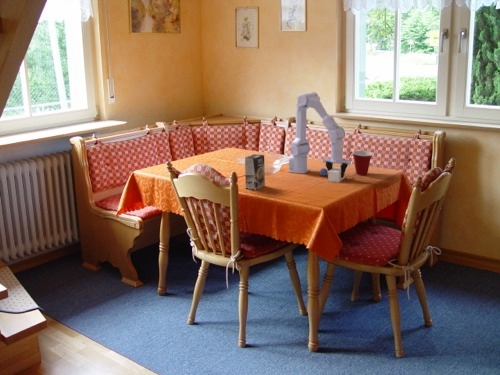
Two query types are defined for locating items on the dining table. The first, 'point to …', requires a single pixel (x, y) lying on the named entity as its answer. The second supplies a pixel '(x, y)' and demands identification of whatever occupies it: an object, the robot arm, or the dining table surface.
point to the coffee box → (254, 171)
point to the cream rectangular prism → (335, 174)
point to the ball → (323, 172)
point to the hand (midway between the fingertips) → (336, 176)
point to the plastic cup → (362, 161)
